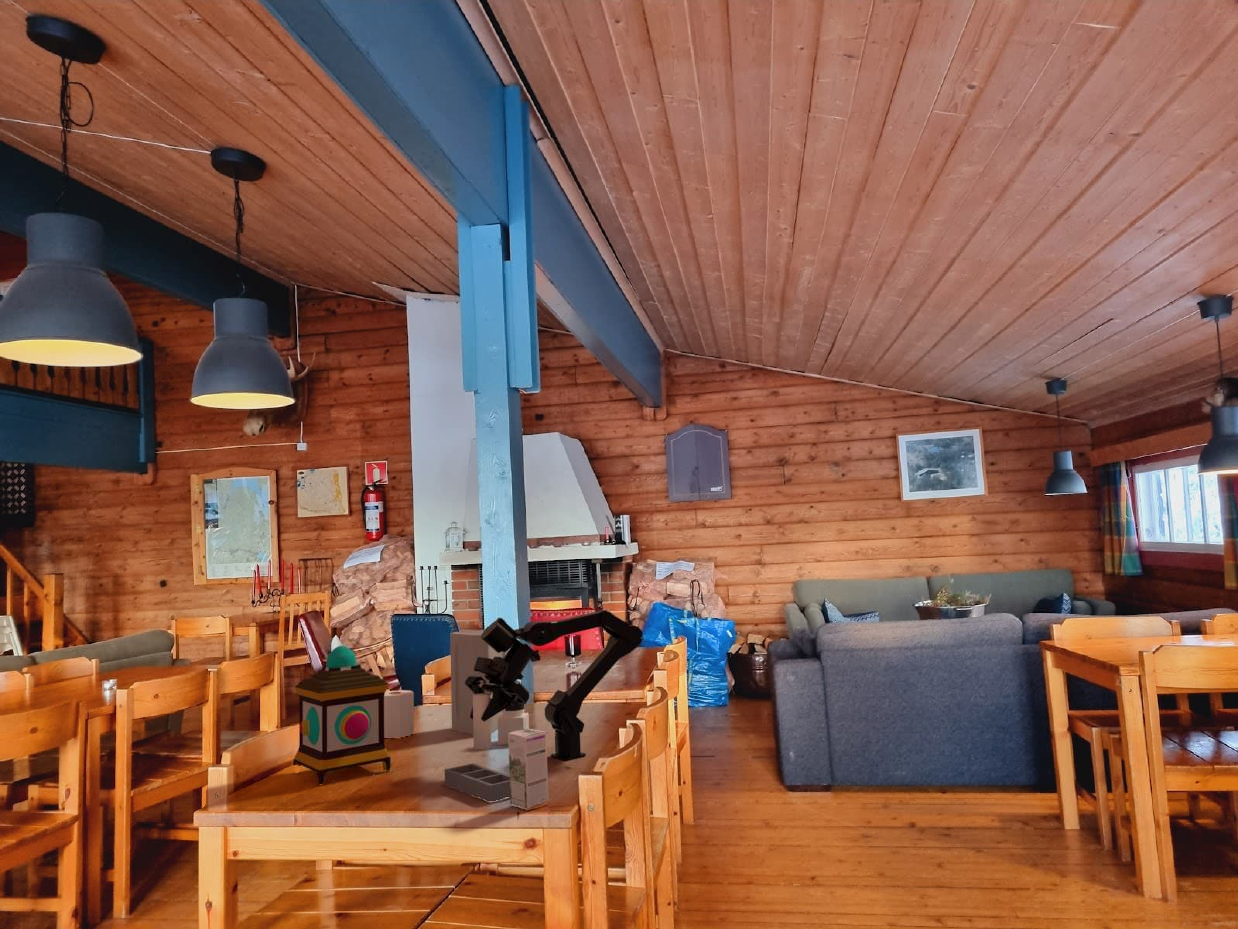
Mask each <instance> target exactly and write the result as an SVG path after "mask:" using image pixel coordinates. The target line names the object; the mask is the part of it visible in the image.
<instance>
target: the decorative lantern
mask: <svg viewBox="0 0 1238 929" xmlns="http://www.w3.org/2000/svg"><path fill="white" fill-rule="evenodd" d="M388 687H389V683H388V682H387V681H386V680H385V679H383V678H381V676H380V675H377V674H371V673H370V672H368V671H366V669H365V668H362V666H361V664H357V657H356V654H355V653H354V652H353V650H352V649H350V648H349V647H347V646H345V645H338V646H336V647H335V648H334V649H332V650H331V652H330V653H329V654H328V655H327V657H326V664H325V665H322V666H321V669H319V670H317V672H316V673H314V674H313V675H311V676H308V677H304V678H303V679H302V680H301V681H299V682H298V683H297V685H295V686H294V689H295V691H296V693H297V695H298V698H299V699H298V700H299V708H298V709H299V715H298V716H299V719H298V721H299V732H298V733H299V735H298V736H299V741H298V743H299V745H298V750H297V752H296V754H295V755H294V758H293V761H292V762H293V763H292V764H293V766H294V765H298V766H301V767H304V768H306V769H307V770H308V769H309V770H311V771H313V772H314V773H316V776H317V783H318V785H319V784H323V785H324V784H325V782H326V781H325V779H326V776H327V774H328V773H330V772H337V771H341V770H345V769H350V768H355V767H360V766H366V765H370V764H376V763H381V762H382V769H383V771H384V770H386V771H387V770H389V771H390V769H391V764H392V763H391V762H392V761H391V759H392V758H391V756H390V754H389V751H388V750H387V747H386V746H385V739H384V694H385V692H387V689H388Z"/></svg>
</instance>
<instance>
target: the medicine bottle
mask: <svg viewBox="0 0 1238 929" xmlns="http://www.w3.org/2000/svg"><path fill="white" fill-rule="evenodd" d="M513 702H514V705H513V706H510V707H508V708H506V709H504V710H502V713H503V715H501V716H500V717H499V718H498V731H497V745H499V746H509V744H508V733H511V732H514V731H517V730H522V729H530V720H529V718H530V717H529V712H525V704H518V703H517V697H515V699H514V701H513Z"/></svg>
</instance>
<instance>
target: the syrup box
mask: <svg viewBox="0 0 1238 929" xmlns="http://www.w3.org/2000/svg"><path fill="white" fill-rule="evenodd" d="M546 733H547V732H546V731H543V730H538V729H532V728H529V729H522V730H517V731H514V732H511V733H508V744H509V745H508V766H509V768H508V770H509V772H508V773H509V774H508V775H510V799H509V801H510V805H511V804H514V805H516V806H520V807H523V808H530V807H532V806H534V805H536V804H541V803H543V802H545V801H549V785H548V783H549V781H548V759H547V758H548V755H547V754H548V753H547V751H548V750H547V734H546Z"/></svg>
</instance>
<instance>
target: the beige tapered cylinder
mask: <svg viewBox="0 0 1238 929" xmlns="http://www.w3.org/2000/svg"><path fill="white" fill-rule="evenodd" d="M489 702H490V694H488V693H480V694H474V695H473V735H472V736H473V749H474V750H488V749H491V748H492V734H491V718H489V719H488V720H486V721H483V720H482V719H481V717H482V715H483V713H484V711H485V710H486V708H487V706H488V704H489Z"/></svg>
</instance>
